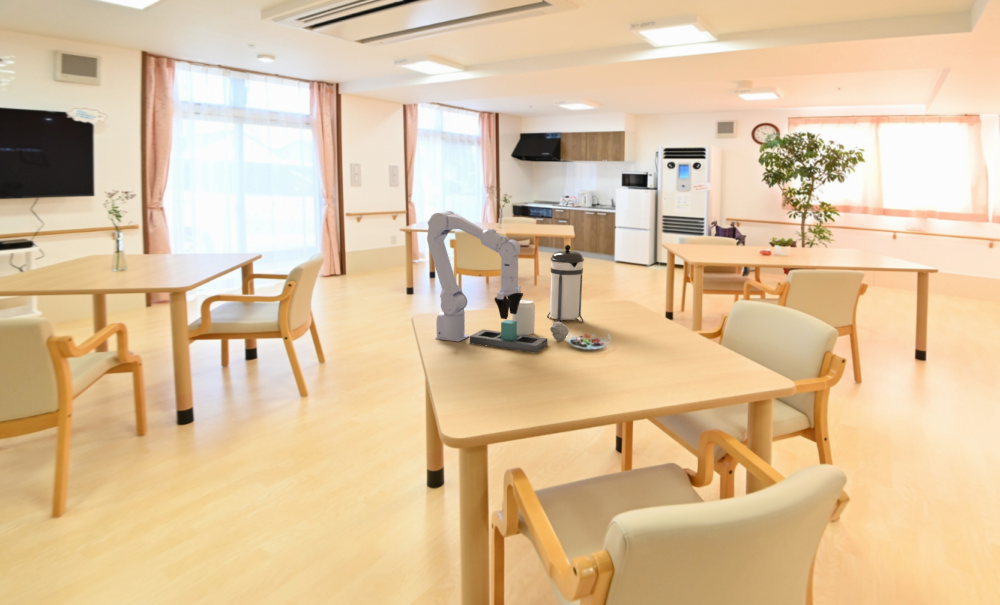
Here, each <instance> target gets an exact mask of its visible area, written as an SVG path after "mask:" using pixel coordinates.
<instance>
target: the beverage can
mask: <svg viewBox="0 0 1000 605" xmlns="http://www.w3.org/2000/svg"><path fill="white" fill-rule="evenodd" d="M534 302H535V301H534V300H532V299H528V298H521V300H520V303H519V306H518V310H517V314H511V318H512V319H511V320H512V321H517V334H520V335H527V336H532V335H533V334H534V333H535V319H536V318H535V316H536V315H535V314H536V304H535V303H534Z"/></svg>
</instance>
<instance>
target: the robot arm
mask: <svg viewBox="0 0 1000 605" xmlns="http://www.w3.org/2000/svg"><path fill="white" fill-rule="evenodd" d="M427 226H428V230H427V235H426V236H427V237H426V240H427V245H428V248H429V251H430V253H431V254H430V255H431V257H432V261H433V264H434V268H435V271H436V274H437V278H438V280H439V284H440V286H441V292H440V294H439V295H440V296H439V297H440V308H441V310H442V311H440V312H439V313H438V315H437V317H436V336H435V339H437V340H445V341H451V342H456V343H459V342H461V341H463V340H465V339H467V338H468V337H469V338H470V335H469V334H466V333H465V331H466V329H465V319H466V318H465V316H466V315H465V308H466V307H467V306H468V298H467V296H466V294H464V293H463V290H462V287H461V286H459V285H458V283H457V281H456V280H457V279H456V277H455V275H454V274H455V273H454V271H453V267H452V264H451V262H450V258H449V257H450V256H449V254H448V250H447V248H446V244H445V240H446V238H447V237H448V234H449V233H451V232H452V231H453V230H460V231H463V232H465V233H466V234H469V235H470V236H473V237H475V238H477V239H479V241H480V243H481V245H483V246H484V247H486V248H488V249H490V250H492V251H494V252H495V253H498V254H499V256H500V258H501V260H500V289H499V291H498V292H497V293H496V296H495V297H494V302H495V304H496V305H497V308H498V313H499V316H500V317H499V318H500V319H502V320H508V318H509V313H510V315H512V314H517V310H518V306H519V303H520V300H521V299H523V297H524V293H523V292H522V290H521V286H520V285H519V254H521V253H520V252H521V249H522V248H521V244H520V242H519V241H518V240H516V239H513V238H510V239H509V236H505V235H502V234H500V233H498V232H497V230H496V229H495V228H492V229H490V228H488V229H483V228H481V227H480V226H478V225H476V224H475V223H473V222H471V221H470V220H468V219H466V218H465V217H463V216H461V215H460V214H458V213H455V212H453V211H452V210H451V211H450V210H446V211H443V212H435V213H433V214H432V215H431V217H430V218H429V220H428V221H427Z"/></svg>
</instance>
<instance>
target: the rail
mask: <svg viewBox="0 0 1000 605" xmlns="http://www.w3.org/2000/svg"><path fill="white" fill-rule="evenodd" d="M472 343H474V344H473V345H478V344H481V345H480V346H485V345H487V346H486V347H491V346H492V348H499V349H507V350H512V351H520V352H524V353H531V354H537V353H539V352H540V351H542V350H543V349H544V348H545V347H547V346H548V338H547V337H543V336H542V337H541V336H540V337H539V336H532V335H520V334H517V338H516V339H515V340H513V341H512V340H505V339H501V331H498V330H493V329H492V330H490V329H484V328H483V329H481V330H479V331H476V333H473V334H471V335H469V344H472Z"/></svg>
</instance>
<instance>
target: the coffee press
mask: <svg viewBox="0 0 1000 605" xmlns="http://www.w3.org/2000/svg"><path fill="white" fill-rule="evenodd" d="M583 257H584V256H583V254H582V253H580V252H578V251H574V250H571V245H570V244H566V245H565V246H564V250H558V251H556V252H554V253H553V254H552V255H551V257H550V262H551V267H550V302H549V303H550V304H549V313H548V314H547V316H546V317H547V319H549V317H550V316H551V317H550V319H551V318H553V319H556V321H555V322H561V323H562V321H563V320H564V321H572V320H576V321H577V322H578V323H579V324H582V323H583V322H584V319H583V317H582V295H583V294H582V292H583V273H584V267H583V264H584V261H585V258H583ZM579 318H580V319H579Z"/></svg>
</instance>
